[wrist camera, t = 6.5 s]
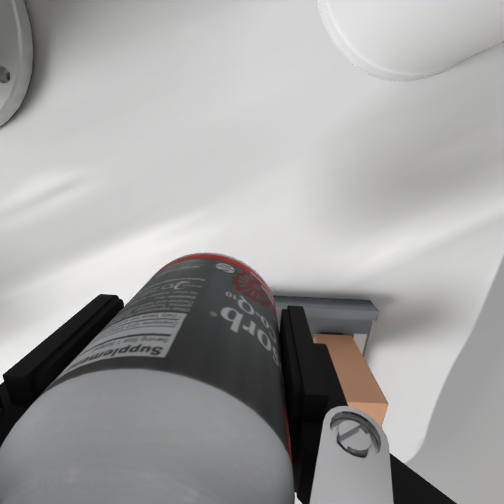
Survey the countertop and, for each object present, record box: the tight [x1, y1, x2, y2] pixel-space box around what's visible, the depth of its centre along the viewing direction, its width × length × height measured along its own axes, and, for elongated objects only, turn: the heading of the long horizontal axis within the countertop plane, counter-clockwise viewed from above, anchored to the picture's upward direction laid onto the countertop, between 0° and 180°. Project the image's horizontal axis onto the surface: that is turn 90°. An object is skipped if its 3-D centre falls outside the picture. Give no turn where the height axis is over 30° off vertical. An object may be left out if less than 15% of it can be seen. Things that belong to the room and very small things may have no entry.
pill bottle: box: [0, 253, 295, 504], centre depth 7 cm, size 6×6×10 cm
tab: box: [313, 334, 388, 427], centre depth 19 cm, size 3×3×6 cm
